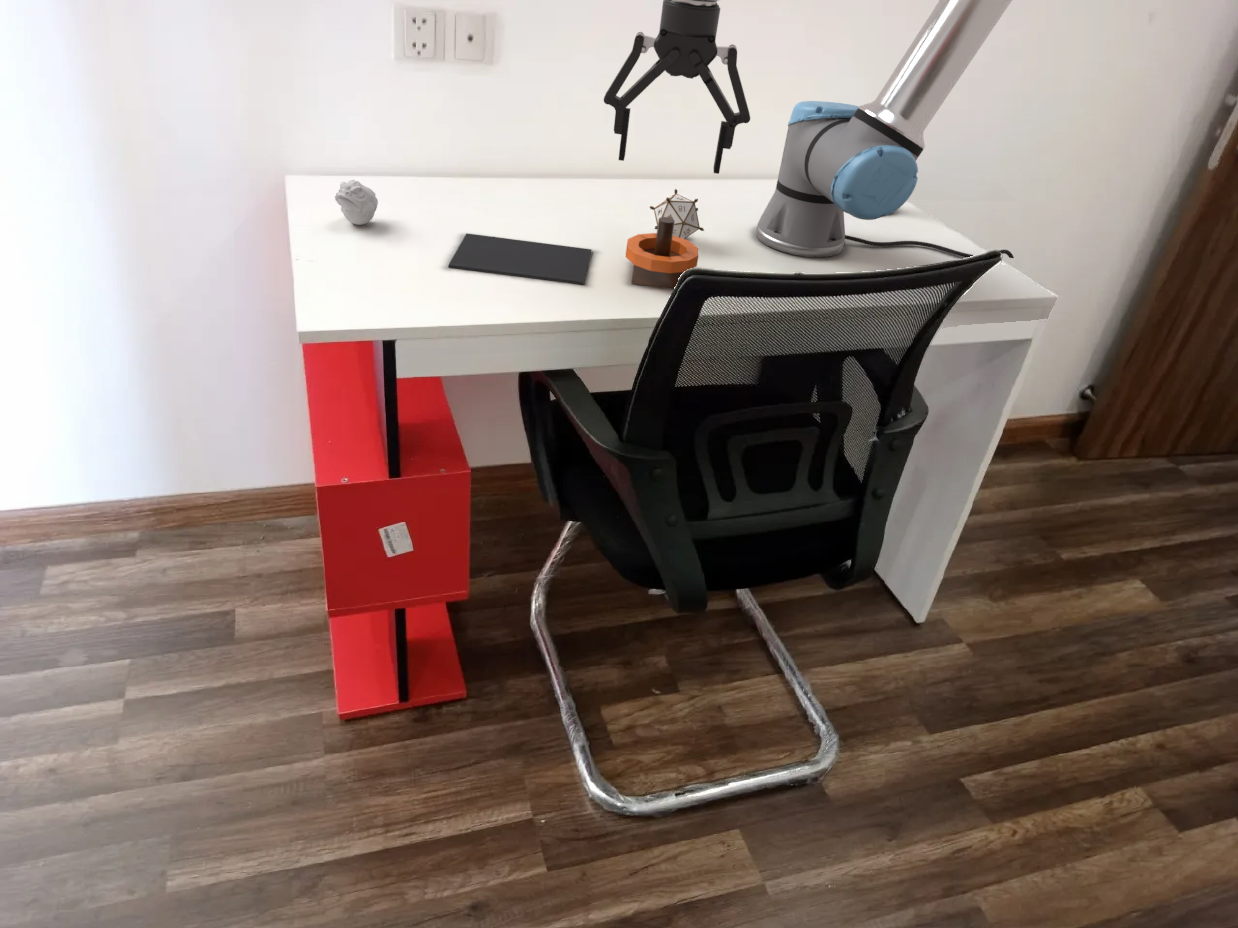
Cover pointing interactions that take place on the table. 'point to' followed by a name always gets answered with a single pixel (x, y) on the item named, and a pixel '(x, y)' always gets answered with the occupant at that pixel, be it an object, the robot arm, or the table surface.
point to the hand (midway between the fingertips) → (668, 164)
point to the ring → (661, 263)
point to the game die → (679, 214)
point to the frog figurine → (356, 202)
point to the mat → (522, 258)
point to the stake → (661, 249)
